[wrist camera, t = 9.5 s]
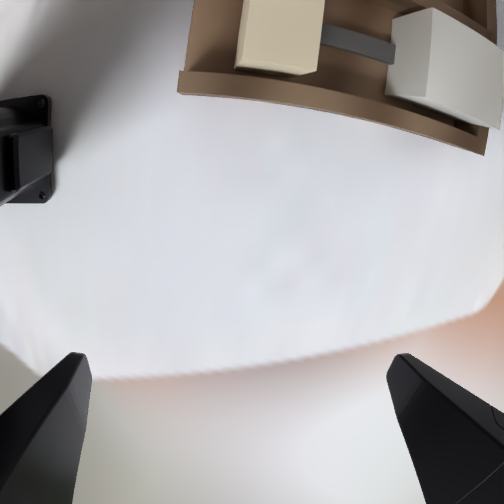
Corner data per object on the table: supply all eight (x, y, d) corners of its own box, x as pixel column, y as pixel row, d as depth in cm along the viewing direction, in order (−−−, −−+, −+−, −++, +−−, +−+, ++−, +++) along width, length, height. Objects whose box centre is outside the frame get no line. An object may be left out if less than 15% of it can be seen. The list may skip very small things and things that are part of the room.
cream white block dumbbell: (233, 69, 14) (242, 58, 11) (247, -22, 12) (258, -53, 9) (456, 124, 17) (498, 134, 13) (464, 50, 15) (506, 49, 11)
